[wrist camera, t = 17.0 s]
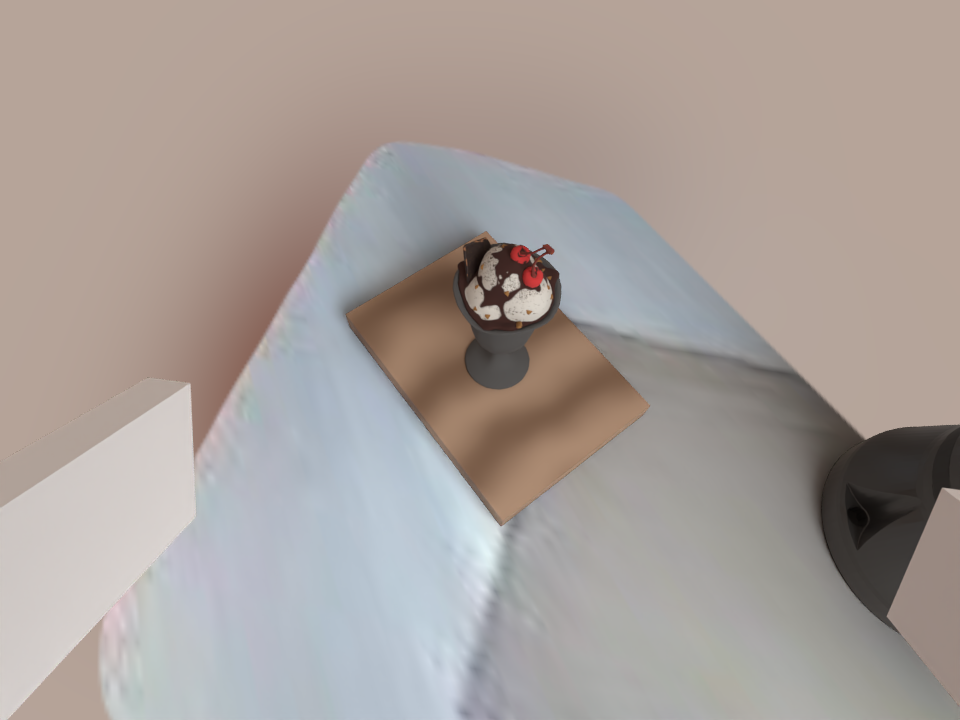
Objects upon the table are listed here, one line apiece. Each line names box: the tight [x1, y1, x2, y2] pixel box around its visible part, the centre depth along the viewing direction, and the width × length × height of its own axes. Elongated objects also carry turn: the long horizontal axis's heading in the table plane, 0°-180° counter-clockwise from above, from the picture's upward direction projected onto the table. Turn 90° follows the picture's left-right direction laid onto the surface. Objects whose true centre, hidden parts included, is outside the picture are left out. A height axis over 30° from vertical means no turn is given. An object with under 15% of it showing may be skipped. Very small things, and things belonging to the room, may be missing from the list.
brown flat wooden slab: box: [346, 231, 650, 526], centre depth 46 cm, size 20×14×2 cm
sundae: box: [453, 237, 561, 390], centre depth 38 cm, size 7×7×15 cm
